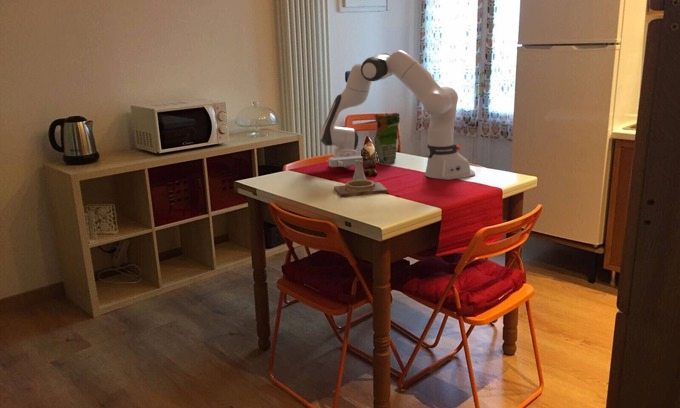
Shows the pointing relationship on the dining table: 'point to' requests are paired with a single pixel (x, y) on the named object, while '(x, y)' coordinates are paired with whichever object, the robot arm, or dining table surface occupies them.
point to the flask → (359, 171)
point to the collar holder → (360, 188)
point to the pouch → (386, 137)
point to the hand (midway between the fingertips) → (353, 164)
